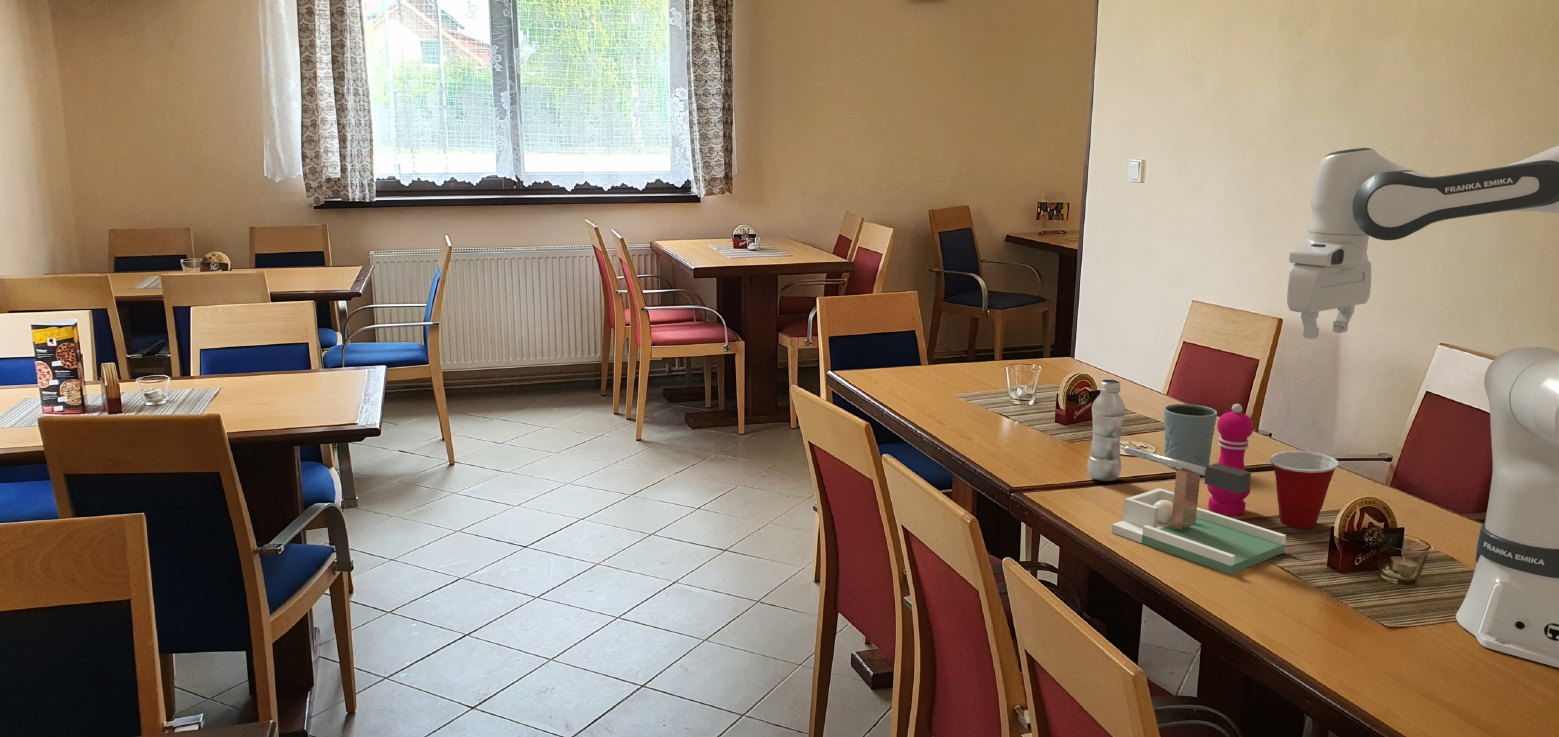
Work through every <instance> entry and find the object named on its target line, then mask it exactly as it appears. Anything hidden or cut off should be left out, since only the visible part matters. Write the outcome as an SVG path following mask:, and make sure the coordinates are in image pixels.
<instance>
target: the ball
mask: <svg viewBox="0 0 1559 737" xmlns="http://www.w3.org/2000/svg"><path fill="white" fill-rule="evenodd" d="M1153 506H1156V507H1159V509H1158V520H1157V521H1158V522H1160V523H1169V522H1171V521H1172V512H1173V503H1172V502H1170V501H1168V500H1160V501H1157V502H1156V503H1155V504H1154V505H1153Z"/></svg>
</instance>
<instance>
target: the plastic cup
mask: <svg viewBox="0 0 1559 737" xmlns="http://www.w3.org/2000/svg"><path fill="white" fill-rule="evenodd" d="M1269 461H1270V463H1271V464H1272V466H1273V470H1274V476H1275V484H1276V498H1277V504H1278V518H1279V521H1280V522H1281V523H1282V524H1283V525H1286V526H1288V527H1291V528H1297V529H1306V528H1307V529H1311V527H1313V528H1314V526H1316V524H1317V523H1318V519H1319V516H1320V513H1321V510H1322V509H1323V505H1324V502H1325V498H1326V496H1327V492H1328V489H1329V486H1330V482H1331V481H1332V477H1333V476H1334V473H1335V470H1336V469H1337V468H1338V467H1339V461H1338V459H1336V458H1335V457H1332V456H1330V455H1327V454H1324V453H1319V452H1313V451H1302V450H1293V451H1290V450H1289V451H1283V452H1277V453H1275V454H1272V455H1271V456H1270V458H1269Z"/></svg>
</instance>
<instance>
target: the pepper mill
mask: <svg viewBox="0 0 1559 737" xmlns="http://www.w3.org/2000/svg"><path fill="white" fill-rule="evenodd" d="M1216 428H1217V431H1218V433H1219V434H1220V436H1219V437H1218V440H1219V441H1218V442H1217V444H1218V446H1220V454H1219V459H1218V461H1217V463H1218V464H1222V465H1225V466H1229V467H1233V468H1236V469H1240V470H1244V471H1247V470H1246V467H1245V461H1244V459H1245V454H1246V453H1245V452H1246V450H1247V449H1249V442H1250V440H1249V439H1248V438H1249V437H1251V435H1253V432H1254V422H1253V420H1252V419H1251V417H1250V416H1249V415H1248V414H1246V413H1244V412H1243V406H1242V405H1241V404H1240V403H1235V404H1232V406H1231V411H1229V412H1225V413H1222V415H1221V416H1220V417H1219V418H1218V420H1217V425H1216ZM1206 485H1207V484H1206ZM1207 490H1208V492H1209V493H1210V494H1211V496H1210V497H1209V498H1208V502H1207V503H1208V504H1207V507H1208V510H1209V511H1211V512H1214V513H1217V514H1220V515H1224V516H1242V515H1244V514H1245V513H1246V505H1247V503H1246V501H1244V500H1245V499H1246V498H1247V497H1248V496H1249V495H1250V493H1251V483H1250V484H1249V490H1248V491H1245V492H1242V493H1239V494H1238V493H1235V492H1231V491H1228V490H1224V489H1221V488H1218V487H1214V486H1211V485H1207Z"/></svg>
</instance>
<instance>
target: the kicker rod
mask: <svg viewBox="0 0 1559 737" xmlns="http://www.w3.org/2000/svg"><path fill="white" fill-rule="evenodd" d="M1123 452H1124V453H1125V454H1127V455H1130V456H1133V457H1137V458H1141V459H1143V460H1148V461H1150V462H1154V463H1158V464H1161V465H1164V466H1166V465H1168V466H1171V467H1175V468H1178V469H1180V470H1175V471H1176V474H1175V482H1174V491H1173V492H1174V501H1173V512H1172V522H1171V526H1173V527H1176V528H1179V529H1184V528H1187V527H1190V526H1193V525H1195V523H1196V513H1197V508H1198V503H1199V492H1200V481H1201V476H1204V477H1205V478H1204V485H1211V486H1214V487H1218V488H1221V489H1224V490H1228V491H1231V492H1235V493H1238V494H1239V493H1242V492H1245V491H1248V490H1249V484H1250V485H1251V475H1252V473H1251V471H1247V470H1246V471H1244V470H1240V469H1236V468H1233V467H1229V466H1225V465H1222V464H1218V462H1217V463H1212V464H1209V466H1206V468H1205V467H1202V466H1198V465H1195V464H1191V463H1187V462H1184V461H1180V460H1177V459H1173V458H1169V457H1166V456H1165V455H1163V454H1159V453H1154V452H1150V451H1148V450H1144V449H1140V448H1138V447H1133V446H1129V445H1127V446H1124V448H1123ZM1168 466H1167V467H1168Z"/></svg>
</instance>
